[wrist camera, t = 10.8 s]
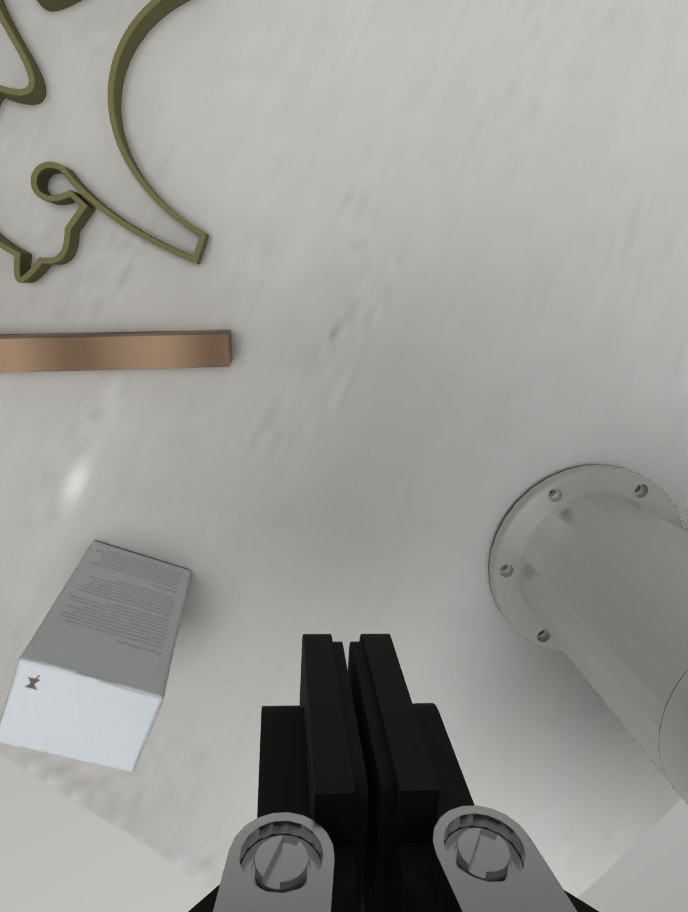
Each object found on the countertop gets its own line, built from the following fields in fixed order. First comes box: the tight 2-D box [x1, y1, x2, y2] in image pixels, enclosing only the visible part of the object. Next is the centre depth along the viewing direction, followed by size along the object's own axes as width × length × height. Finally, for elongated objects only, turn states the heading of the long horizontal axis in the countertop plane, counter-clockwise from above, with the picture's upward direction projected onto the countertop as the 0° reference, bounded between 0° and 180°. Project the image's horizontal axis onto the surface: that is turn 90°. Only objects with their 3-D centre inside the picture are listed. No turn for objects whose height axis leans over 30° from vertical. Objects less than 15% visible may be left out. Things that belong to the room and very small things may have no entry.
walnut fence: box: [0, 330, 232, 372], centre depth 29 cm, size 15×23×3 cm, turn 1°
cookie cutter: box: [0, 0, 209, 283], centre depth 30 cm, size 18×12×2 cm, turn 174°
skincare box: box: [0, 541, 191, 772], centre depth 32 cm, size 6×4×12 cm
